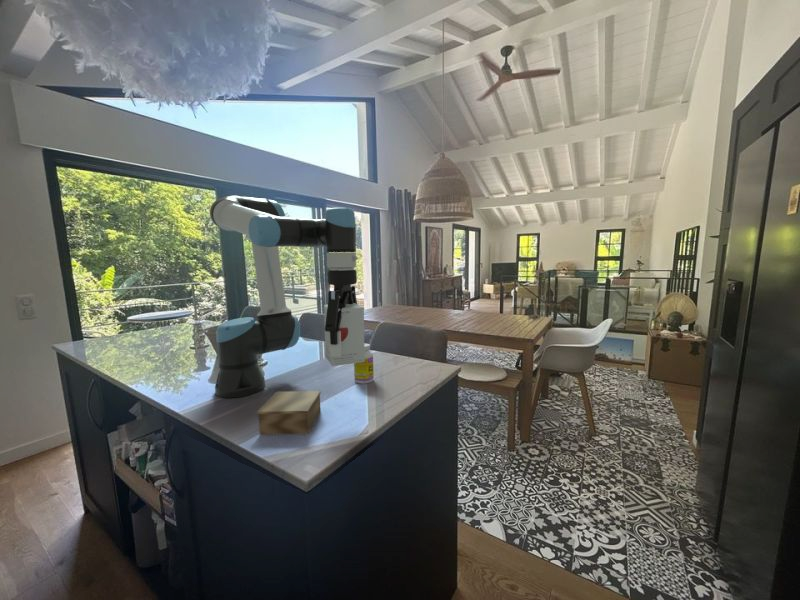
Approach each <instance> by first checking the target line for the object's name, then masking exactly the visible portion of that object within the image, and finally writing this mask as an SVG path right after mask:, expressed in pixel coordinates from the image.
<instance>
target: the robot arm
mask: <svg viewBox="0 0 800 600" xmlns="http://www.w3.org/2000/svg"><path fill="white" fill-rule="evenodd" d="M209 216H210V217H209V218H210V219H211V221H212V222H213V224H214V225H215V226H216V227H218V228H220V229H221V230H224V231H227V232H237V233H240V234H242V235H245V238H246V239H247V240H248V241H249V242H250V243H251V250H252V255H253V262H254V270H255V276H256V284H257V291H258V292H257V293H258V299H259V307H260V310H259V312H258V313H257V314H256V318H257V319H256V320H255V317H250V316H247V317H245V316H244V317H239V318H238V317H237V318H234V319H230V320H227V321H224V322H222V323H220V324H219V325H218V326H217V327H216V335H215V337H216V338H215V342H216V347H217V357H218V358H217V360H218V367H219V369H218V370H219V371H218V374H217V378H216V382H215V385H214V386H215V387H214V391H215V396H217V397H219V396H220V397H219V398H223V397H224V398H226V399H231V398H242V397H246V396H249V395H254V394H256V393H258V392H260V391H262V390H264V388H265V387H266V379H265V377H264V375H263V372H262V370H261V368H260V366H259V359H258V356H259V355H263V354H267V353H272V352H276V351H283V350H287V349H290V348H293V347H294V346H295V345H297V343H298V341H299V340H300V337H301V323H300V321H299V319H298V317H297V316H295V315H293V314H292V310H291V309H290V308H288V306H287V304H286V297H285V288H284V287H285V286H284V280H283V274H282V266H281V260H280V251H279V247H293V248H295V247H296V248H299V247H302V248H320V247H321V248H323V247H324V248H325V247H326V267H327V268H328V269H329V270H327V283H328V285H330V286H333V290H328V291H327V293H328V294H327V296H328V298H327V300H328V301H327V304H328V308H327V316H326V324H325V323H324V332H325V331H328V332H329V336H330V356H333V357H341V331H339V327H340V322H341V318H342V314H341V310H342V308H345V307H346V304H353V303H356V304H358V301H357V300H358V299H357V294H356V286H355V284H357V281H358V278H357V277H358V276H357V275H358V274H357V273H358V272H357V270H356V269H355V268H357V260H358V259H359V257H358V256H357V244H356V243H357V241H356V240H357V239H356V238H357V235H356V234H357V233H356V231H357V230H356V229H357V228H356V227H357V224H356V217H355V216H356V215H355V211H354V210H353V209H352V208H347V207H332V208H331V207H330V208H327V209H326V210H325V215H324V216H325V217H324V218H319V219H318V218H317V219H316V218H305V217H304V218H303V217H288V216H286V214H285V211H284V209H283V207H282V206H281V204H279V202H278V201H276V200H272V199H267V198H258V197H249V196H239V195H227V196H222V197H220V198H218V199H216V200H214V202H213V203H212V204H211V206H210V209H209ZM338 309H340V311H339V312H338Z"/></svg>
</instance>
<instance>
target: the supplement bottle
mask: <svg viewBox="0 0 800 600" xmlns="http://www.w3.org/2000/svg"><path fill="white" fill-rule="evenodd" d="M364 348H365V362H361V363H353V369H354V371H353V375H354V382H355V383H357V384H362V385H363V384H369V383H372V382H373V381H374V354H373V352H372V351H370V349H371V344H370V343H366V342H364Z"/></svg>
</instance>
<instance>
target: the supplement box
mask: <svg viewBox="0 0 800 600" xmlns="http://www.w3.org/2000/svg"><path fill="white" fill-rule="evenodd" d="M327 308H328V303H327V304H324V305H323V313H324V315H323V316H324V319H323V321H324V322H323V323H324V325H325V324H326V316H327ZM339 311H340V309H338V312H339ZM341 314H342V318H341V322H340V327H339V331H341V357H333V356H330V336H329V332H328V331H325V330H324V348H325V349H324V352H325V353H324V354H325V355H324V356H325V358H326V359H327V361H328V362H329V365H331V366H332V367H337V366H344V365H354V363H361V362H365V348H364V343H365V307H364V306H363V305H360V304H359V303H357V304H356V303H353V304H346V307H345V308H342V310H341Z"/></svg>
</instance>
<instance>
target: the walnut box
mask: <svg viewBox="0 0 800 600" xmlns="http://www.w3.org/2000/svg"><path fill="white" fill-rule="evenodd" d="M321 410H322V409H321V390H305V391H304V390H303V391H300V390H297V391H293V390H291V391H276V392H275V393H274V394H273V395H272V396H271V397H270V398H269V399H268V400H266V402H265V403H264V404H263V405H262V406H260V408H259V409H258V410H257V411H256V412H257V413H256V414H257V415H258V423H259V426H258V427H259V435H309V433H310V432H311V431H312V428H313V426H314V425H315V423H316V421H317V420H318V417H319V416H320V414H321V412H322V411H321Z"/></svg>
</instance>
